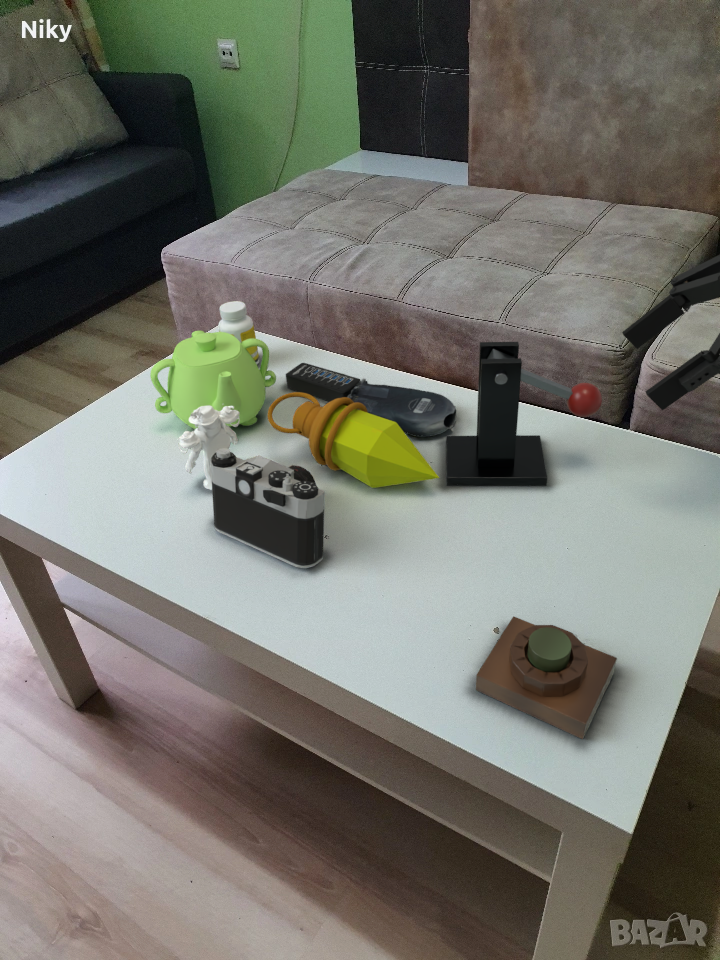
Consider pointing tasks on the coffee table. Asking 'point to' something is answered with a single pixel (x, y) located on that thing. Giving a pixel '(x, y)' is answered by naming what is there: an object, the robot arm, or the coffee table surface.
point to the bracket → (496, 430)
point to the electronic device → (407, 407)
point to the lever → (562, 390)
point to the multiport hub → (320, 382)
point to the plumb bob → (356, 441)
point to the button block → (546, 679)
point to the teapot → (214, 377)
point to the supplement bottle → (238, 324)
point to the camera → (269, 507)
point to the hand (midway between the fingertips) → (640, 369)
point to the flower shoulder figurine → (208, 436)
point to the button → (549, 649)
